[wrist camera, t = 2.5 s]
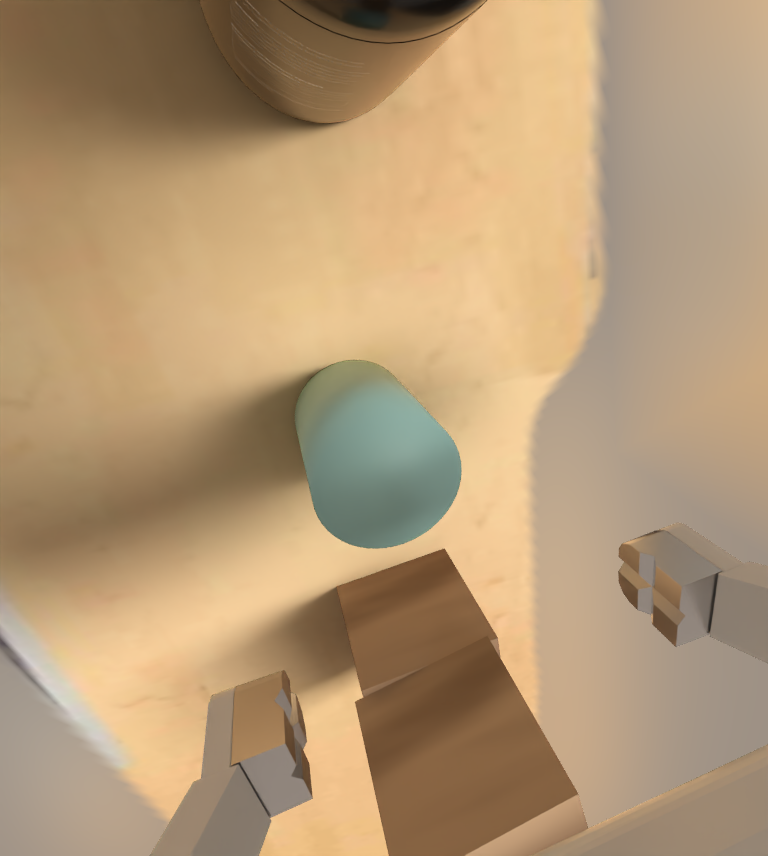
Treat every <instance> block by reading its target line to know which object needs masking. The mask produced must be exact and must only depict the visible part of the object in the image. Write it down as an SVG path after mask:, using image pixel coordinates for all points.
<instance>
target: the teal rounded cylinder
mask: <svg viewBox="0 0 768 856" xmlns="http://www.w3.org/2000/svg"><path fill="white" fill-rule="evenodd" d="M295 426H296V431H297V435H298V440H299V444H300V448H301V453H302V457H303V461H304V466H305V470H306V475H307V479H308V483H309V488H310V492H311V496H312V501H313V505H314V509H315V511H316V514H317V516H318V518H319V520H320V521H321V523H322V524H323V526H324V527H325V528H326V529H327V530H328V531H329V532H330V533H331V534H332V535H334V536H335V537H337V538H338V539H340V540H341V541H344V542H346V543H348V544H351V545H354V546H357V547H363V548H387V547H393V546H397V545H400V544H404V543H406V542H408V541H411V540H413V539H415V538H417V537H419V536H421V535H422V534H424V533H425V532H427V531H428V530H429V529H431V528H432V527H433V526H434V525H435V524H436V523H437V522H438V521H439V520H440V519H441V518H442V517H443V516H444V515H445V513H446V512H447V511H448V509H449V508H450V506H451V505H452V503H453V501H454V499H455V497H456V495H457V492H458V489H459V485H460V480H461V460H460V456H459V452H458V450H457V447H456V445H455V443H454V441H453V440H452V438H451V437H450V436H449V434H448V433H447V432H446V431H445V430H444V429H443V428H442V427H441V426H440V424H439V423H438V422H437V421H436V420H435V419H434V418H433V417H432V416H431V415H430V414H429V413H428V412H427V411H426V409H425V408H424V407H423V406H422V405H421V404H420V403H419V402H418V401H417V400H416V399H415V398H414V397H413V396H412V395H411V393H410V392H409V391H408V390H407V389H406V388H405V387H404V386H403V385H402V384H401V383H400V382H399V381H398V380H397V379H396V377H395V376H394V375H392V374H391V373H390V372H389V371H388V370H386V369H385V368H383V367H382V366H379V365H377V364H375V363H372V362H368V361H363V360H347V361H342V362H338V363H335V364H332V365H330V366H328V367H326V368H324V369H323V370H321V371H320V372H318V373H317V374H316V375H314V376H313V377H312V378H311V379H310V380H309V382H308V383H307V384H306V385H305V387H304V388H303V390H302V391H301V393H300V395H299V398H298V401H297V404H296V408H295Z"/></svg>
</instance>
